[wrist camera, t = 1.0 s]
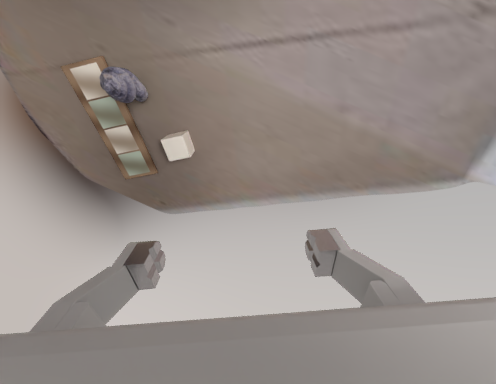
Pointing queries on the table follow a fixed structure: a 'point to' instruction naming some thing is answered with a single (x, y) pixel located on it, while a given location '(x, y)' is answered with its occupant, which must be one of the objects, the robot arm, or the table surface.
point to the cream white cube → (178, 145)
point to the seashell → (122, 85)
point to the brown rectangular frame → (110, 118)
